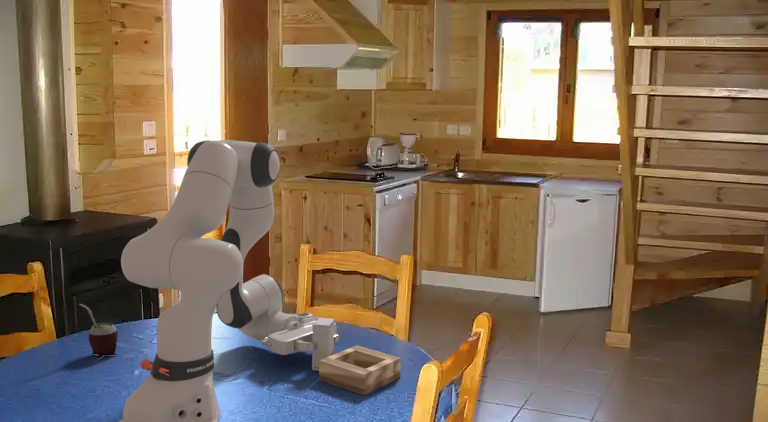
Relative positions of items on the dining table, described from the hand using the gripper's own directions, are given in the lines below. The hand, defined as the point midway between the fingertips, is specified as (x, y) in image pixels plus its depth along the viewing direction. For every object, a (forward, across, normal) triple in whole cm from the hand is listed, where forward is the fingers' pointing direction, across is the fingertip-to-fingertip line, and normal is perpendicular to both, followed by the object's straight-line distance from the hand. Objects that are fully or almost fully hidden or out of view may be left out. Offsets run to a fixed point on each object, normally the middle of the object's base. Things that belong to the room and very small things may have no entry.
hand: (326, 343), depth 190 cm
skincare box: (-1, 0, +7) cm, 7 cm away
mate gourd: (-50, -31, +7) cm, 59 cm away
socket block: (+11, 0, +6) cm, 13 cm away
